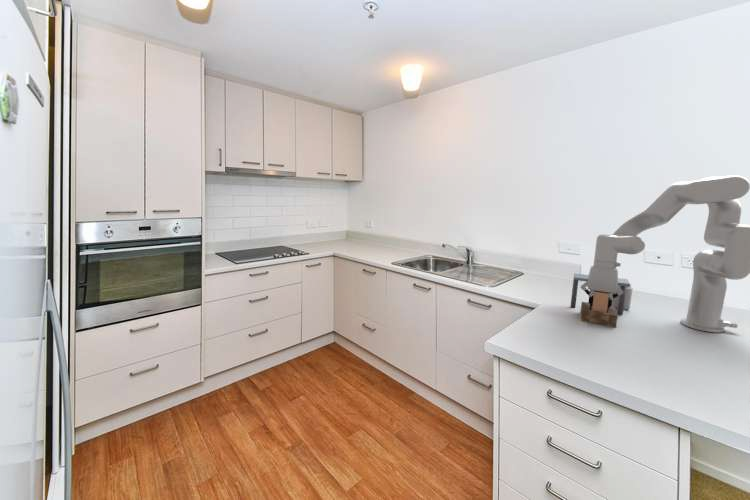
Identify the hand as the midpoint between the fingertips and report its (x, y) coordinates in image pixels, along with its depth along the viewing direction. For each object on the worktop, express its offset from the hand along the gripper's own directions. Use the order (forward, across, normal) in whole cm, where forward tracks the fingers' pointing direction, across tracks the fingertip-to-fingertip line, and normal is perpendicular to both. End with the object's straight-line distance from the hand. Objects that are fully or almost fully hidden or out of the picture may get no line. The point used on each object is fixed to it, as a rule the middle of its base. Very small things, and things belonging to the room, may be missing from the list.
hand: (599, 306), depth 137 cm
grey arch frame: (+6, 0, -10) cm, 12 cm away
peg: (+4, 0, 0) cm, 4 cm away
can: (+7, -10, -25) cm, 28 cm away
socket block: (+6, 0, -2) cm, 7 cm away
